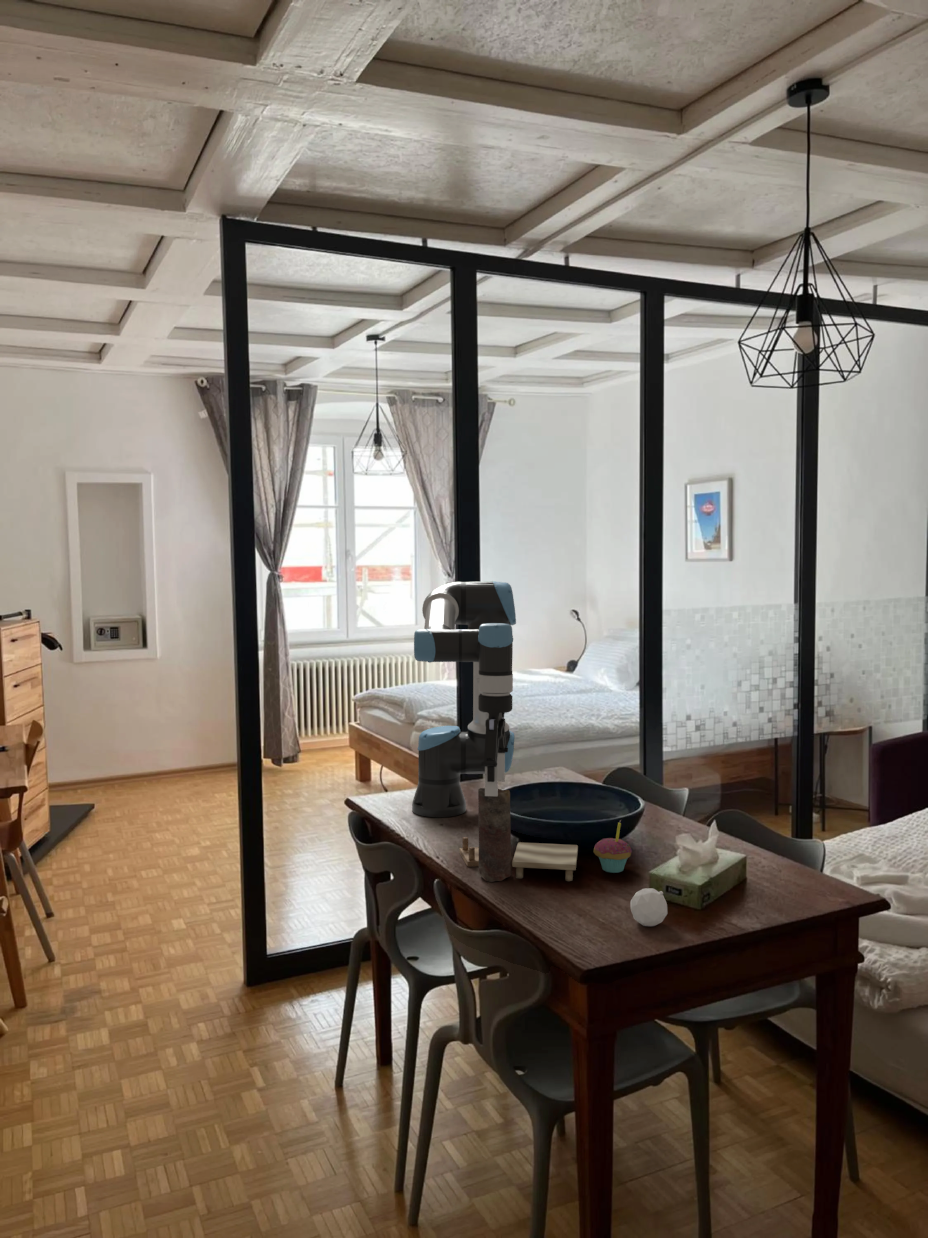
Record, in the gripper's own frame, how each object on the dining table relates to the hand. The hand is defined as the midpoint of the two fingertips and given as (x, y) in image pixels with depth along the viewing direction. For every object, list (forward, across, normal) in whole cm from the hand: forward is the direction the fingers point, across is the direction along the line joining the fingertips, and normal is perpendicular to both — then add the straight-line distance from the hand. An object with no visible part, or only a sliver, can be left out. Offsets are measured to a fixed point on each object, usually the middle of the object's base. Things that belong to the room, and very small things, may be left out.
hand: (495, 788), depth 210 cm
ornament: (+21, +22, +33) cm, 44 cm away
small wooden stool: (+20, -6, +11) cm, 24 cm away
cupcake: (+20, -10, +26) cm, 34 cm away
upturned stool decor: (+20, -12, -4) cm, 24 cm away
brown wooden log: (+20, 0, 0) cm, 20 cm away
